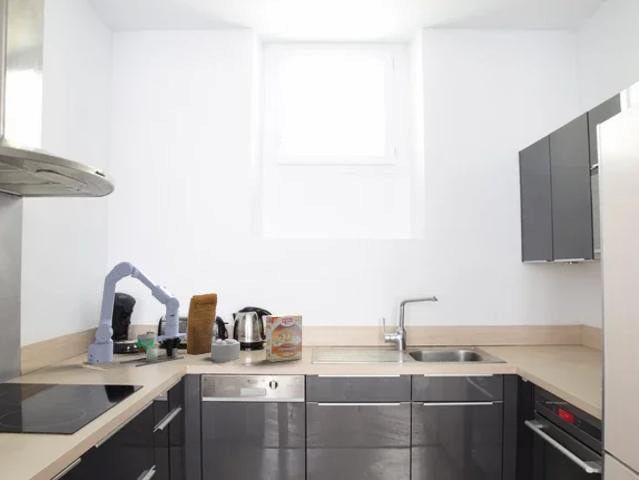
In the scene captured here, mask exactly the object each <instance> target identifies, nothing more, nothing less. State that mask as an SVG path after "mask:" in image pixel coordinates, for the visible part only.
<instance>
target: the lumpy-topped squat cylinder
mask: <svg viewBox="0 0 639 480" xmlns="http://www.w3.org/2000/svg"><path fill="white" fill-rule="evenodd" d="M210 359H211V360H212V361H213V363H224V362H225V363H228V362H234V361H237V360H240V359H241V342H239V341H237V340H236V339H235V338H234V339H231V338H225V339H224V340H222V338H217V339H216V340H215V341H214V342H212V344H211V352H210Z"/></svg>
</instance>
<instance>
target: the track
mask: <svg viewBox="0 0 639 480" xmlns="http://www.w3.org/2000/svg"><path fill="white" fill-rule="evenodd" d="M165 356H166V353H165V354H159V355H158V358H159V357H165ZM182 359H185V357H184V356H177V358H172V359H166V360H160V361H155V362H149V363H144V362H142V363H139V364H135V367H137V368H139V367H144V366H149V365H155V364H161V363H166V362H172V361H177V360H182ZM141 360H146V357H139V358H135V359H130V360H129V359H128V360H122V361H120V362H119V364H128V363H129V364H130V363H134V362H139V361H141Z"/></svg>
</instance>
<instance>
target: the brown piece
mask: <svg viewBox="0 0 639 480" xmlns="http://www.w3.org/2000/svg"><path fill="white" fill-rule="evenodd" d="M165 354H166V356H164V357H158V359H157V361H160V360H166V359H172V358H177V357H178V348H177V349H176V348H172V356H167V352H166V351H165ZM138 362H140V363H149V362H147V361H146V360H141V361H138Z"/></svg>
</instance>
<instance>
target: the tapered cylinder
mask: <svg viewBox="0 0 639 480" xmlns="http://www.w3.org/2000/svg"><path fill="white" fill-rule="evenodd" d="M158 352H159V351H158V348H157V347H154V348H149V349H147V351H146V354H145V356H146V357H145V358H146V361H147V362H155V361H157V359H158V358H159V357H158Z"/></svg>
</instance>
